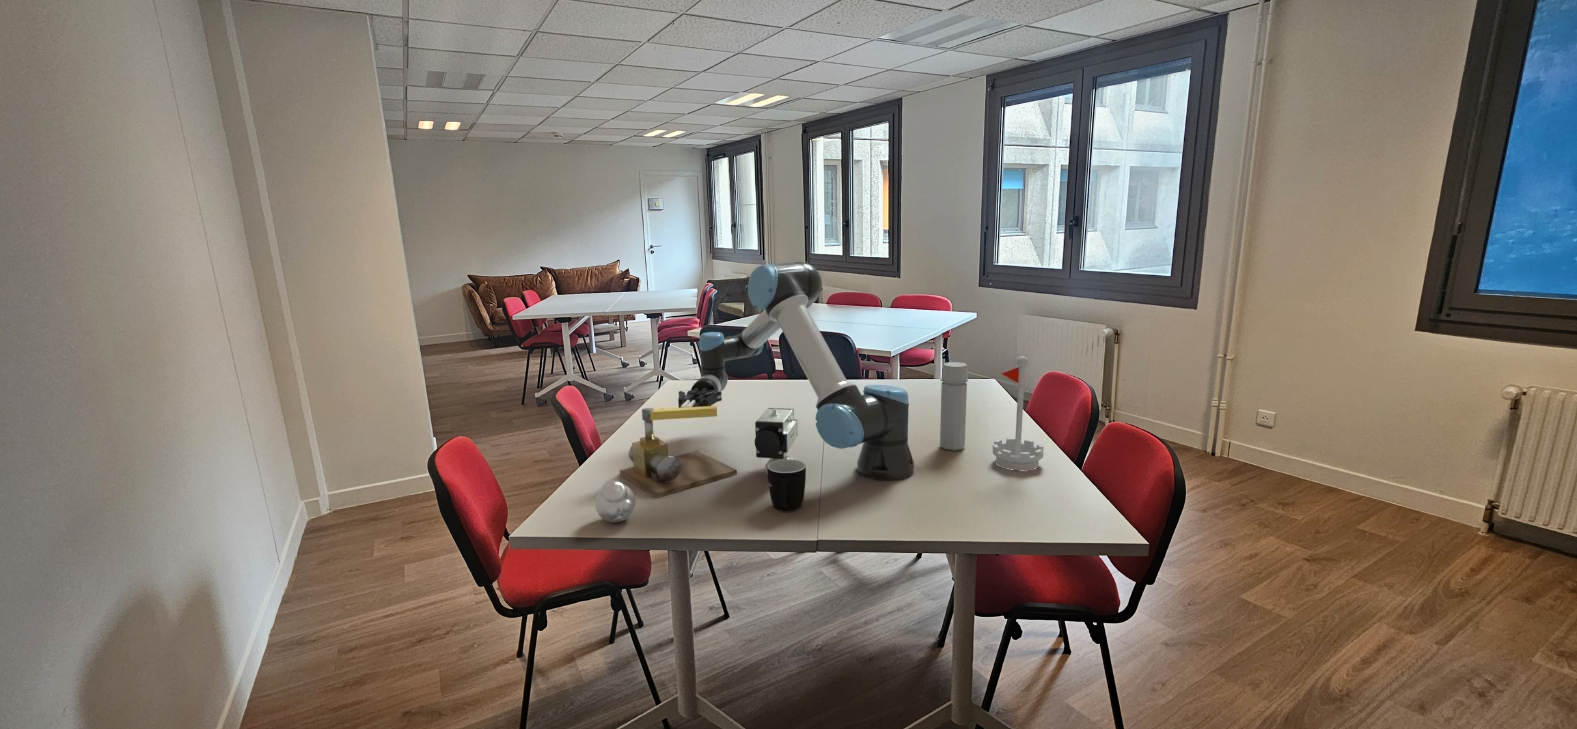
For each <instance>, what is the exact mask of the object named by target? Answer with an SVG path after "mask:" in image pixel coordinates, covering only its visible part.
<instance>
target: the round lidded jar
mask: <svg viewBox="0 0 1577 729" xmlns="http://www.w3.org/2000/svg"><path fill="white" fill-rule="evenodd" d="M594 505H595V506H594V507H595V510H596V512H597V514H598V516H599V517H600V518H601V519H602V520H604V521H606V522H608V523H613V524H615V523H616V524H617V523H620V522H624V521H625V520H627V519H628V518H629V517H630V516H631V515H632V514H633V512H634V511H635V508H636V496H635V494H634V492H633V490H632V489H631V488H630V487H629V486H628V485H626V484H624V483H622V481H621V482H620V481H619V480H610V481H606V482H605V483H604V484H603V486H602V487H601V489H600V490H599V491H598V493H597V494H596V498H595V504H594Z"/></svg>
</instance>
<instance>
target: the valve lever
mask: <svg viewBox="0 0 1577 729" xmlns="http://www.w3.org/2000/svg"><path fill="white" fill-rule="evenodd" d="M641 417H642V418H641V419H642V421H643V422H644V421H649V420H653V421H661V420H662V421H663V420H677V419H694V418H697V419H698V418H713V417H714V418H715V417H718V407H717V405H711V406H704V407H686V408H679V407H674V408H673V407H672V408H655V409H654V408H653V407H645V408H642V409H641Z"/></svg>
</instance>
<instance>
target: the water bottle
mask: <svg viewBox="0 0 1577 729" xmlns="http://www.w3.org/2000/svg"><path fill="white" fill-rule="evenodd" d="M968 377H969V376H968V364H967V363H965V362H959V361H958V362H956V361H955V362H954V361H950V362H944V363H943V368H942V375H941V379H939V380H940V382H941V388H940V391H941V392H940V394H941V395H940V397H941V398H940V430H939V445H940V447H941V448H942V449H944V450H947V451H952V452H953V451H954V452H955V451H961V450H963V449H964V448H965V447H966V423H967V422H966V421H967V420H966V418H967V393H968V391H967V390H968V389H967V388H968V383H967V382H969V378H968Z"/></svg>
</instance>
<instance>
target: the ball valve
mask: <svg viewBox="0 0 1577 729" xmlns="http://www.w3.org/2000/svg"><path fill="white" fill-rule="evenodd" d="M794 412H795V411H794V408H782V407H781V408H780V407H779V408H778V407H776V408H775V407H768V408H767V409H766V410H765V411H764V412H763V413H762V414H761V416H759V417H758V419H757V420H755V422H754V426H755V428H754V429H755V432H754V433H755V438H754V446H755V456H756V458H761V459H768V461H767V462H766V463H765V466H764V471H765V473H766V475H767V476H768V470H767V469H768V465H769V464H770V463H771V462H774V461H777V460H783V459H792V460H795V459H794V458H793V457H790V456H786V455H787V454H788V453H789V451H790V449H791V447H792V446H793V444H794V443H795V441H796V439H797V437H798V435H799V434H798V419H796V418H795V413H794Z"/></svg>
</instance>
